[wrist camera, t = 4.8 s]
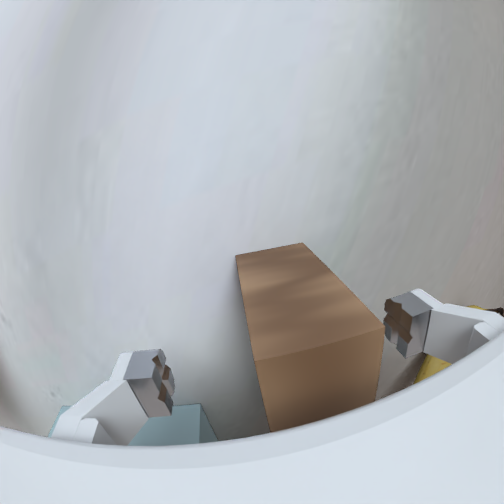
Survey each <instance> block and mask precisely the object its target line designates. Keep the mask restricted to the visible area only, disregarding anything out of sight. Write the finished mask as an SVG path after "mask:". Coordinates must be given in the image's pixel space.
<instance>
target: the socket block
mask: <svg viewBox="0 0 504 504" xmlns="http://www.w3.org/2000/svg"><path fill="white" fill-rule="evenodd" d="M69 408H71V407H70V406H62V408H61V410H60V412H59V414H58V416H57V418H56V420H55V422H54V424H53V427H52V429H51V431H50V433H49V435H48V437H50V438H51V436H52V433H53V431H54V429H55V426H56V424H57V422H58V420H59V417H60V415H61V414H63V413H64V412H65V411H67V410H68V409H69ZM217 441H218V440H217V438H216V436H215V434H214V432H213V430H212V428H211V426H210V423H209V421H208V419H207V417H206V415H205V413H204V411H203V408H202V406H201V404H192V405H181V406H173V407H172V416H163V417H151V418H149V419H148V421H147V422H146V423H145V424H144V426H143V427H142V428H141V429H140V431H139V432H138V433H137V434H136V436H135V437H134V438H133V439H132V441H131V442H130V443H129V444H128V446H166V445H185V444H198V443H208V442H217Z"/></svg>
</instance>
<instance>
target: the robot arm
mask: <svg viewBox="0 0 504 504" xmlns="http://www.w3.org/2000/svg"><path fill="white" fill-rule="evenodd" d="M384 310H385V311H386V313H387V315H386V317H385V318H384V320H383V325H384V326H385V336H386V338H387V339H388V340H389V341H390V342H391V343H394V344H397V347H396V349H397V350H398V351H399V352H400V353H401V354H402V355H403V356H404V357H405V359H406V358H408V357H411V356H413V355H415V354H418V353H420V352H424V353H426V354H429V355H431V356H434V357H436V358H439V359H441V360H443V361H446V362H448V363H451V364H452V365H450V366H448V367H446V368H445V369H443V370H441V371H439V372H437V373H435V374H434V375H432V376H430V377H428V378H426V379H424V380H422V381H420V382H418V383H416V384H414V385H412V386H409V387H407V388H405V389H403V390H401V391H398V392H396V393H394V394H392V395H389V396H387V397H384V398H382V399H379V400H377V401H374V402H372V403H369V404H367V405H364V406H361V407H359V408H356V409H353V410H350V411H347V412H344V413H341V414H338V415H335V416H332V417H329V418H326V419H322V420H319V421H316V422H312V423H309V424H305V425H301V426H297V427H293V428H289V429H285V430H281V431H276V432H271V433H267V434H262V435H256V436H251V437H245V438H239V439H232V440H225V441H217V442H208V443H198V444H185V445H166V446H128V444H129V443H130V442H131V441H132V439H133V438H134V437H135V436H136V434H137V433H138V432H139V431H140V429H141V428H142V427H143V426H144V424H145V423H146V422H147V421H148V419H149V418H151V417H163V416H172V407H173V401H172V399H171V396H172V395H173V394H174V389H175V385H174V378H173V374H172V371H171V369H170V368H169V367H168V366H167V365H165V362H166V357H165V355H164V352H163V351H162V350H161V349H153V350H143V351H135V352H134V351H131V352H123V353H121V354H120V355H119V357H118V360H117V362H116V365H115V367H114V369H113V372H112V374H111V377H110V379H109V381H105V382H103V383H102V384H101V385H99V386H98V387H97V388H95V389H94V390H93V391H92V392H90V393H89V394H88V395H86V396H85V397H84V398H82V399H81V400H80V401H78V402H77V403H76V404H75V405H73V406H72V407H71V408H69V409H68V410H67V411H65V412H64V413H63V414H61V415H60V417H59V420H58V422H57V424H56V426H55V429H54V431H53V433H52V436H51V438H50V437H44V436H39V435H35V434H30V433H26V432H22V431H18V430H14V429H10V428H7V427H3V426H0V504H504V318H503V317H502V316H500V315H499V314H497V313H496V312H492V311H486V310H480V309H475V308H469V307H463V306H458V305H452V304H447V303H446V304H442V303H441V302H439V301H438V300H436V299H435V298H434V297H432V296H431V295H429V294H428V293H426V292H425V291H423V290H422V289H415V290H412V291H409V292H407V293H404V294H402V295H399V296H396V297H393V298H390V299H387V300H386V302H385V308H384Z"/></svg>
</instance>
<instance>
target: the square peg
mask: <svg viewBox="0 0 504 504" xmlns="http://www.w3.org/2000/svg"><path fill="white" fill-rule="evenodd" d="M235 256H236V262H237V268H238V274H239V279H240V285H241V291H242V297H243V302H244V308H245V314H246V319H247V325H248V330H249V336H250V341H251V347H252V352H253V357H254V362H255V367H256V371H257V376H258V380H259V385H260V389H261V394H262V398H263V402H264V407H265V411H266V415H267V420H268V424H269V428H270V432H276V431H281V430H285V429H289V428H293V427H297V426H301V425H305V424H309V423H312V422H316V421H319V420H322V419H326V418H329V417H332V416H335V415H338V414H341V413H344V412H347V411H350V410H353V409H356V408H359V407H361V406H364V405H367V404H369V403H372V402H374V401H375V397H376V391H377V385H378V379H379V373H380V366H381V359H382V352H383V343H384V334H385V326H384V325H383V324H382V323H381V322H380V321H379V319H378V318H377V317H376V316H375V315H374V314H373V313H372V312H371V311H370V310H369V309H368V308H367V307H366V306H365V305H364V304H363V303H362V302H361V301H360V300H359V299H358V297H357V296H356V295H355V294H354V293H353V292H352V291H351V290H350V289H349V288H348V287H347V286H346V285H345V284H344V283H343V282H342V281H341V280H340V279H339V278H338V277H337V276H336V275H335V274H334V273H333V272H332V271H331V270H330V269H329V268H328V267H327V266H326V265H325V264H324V263H323V262H322V261H321V260H320V259H319V258H318V257H317V256H316V255H315V254H314V253H313V252H312V251H311V250H310V249H309V248H308V247H307V246H306V245H305V244H304V243H298V244H293V245H287V246H282V247H277V248H272V249H267V250H261V251H256V252H251V253H246V254H241V255H235Z"/></svg>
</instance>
